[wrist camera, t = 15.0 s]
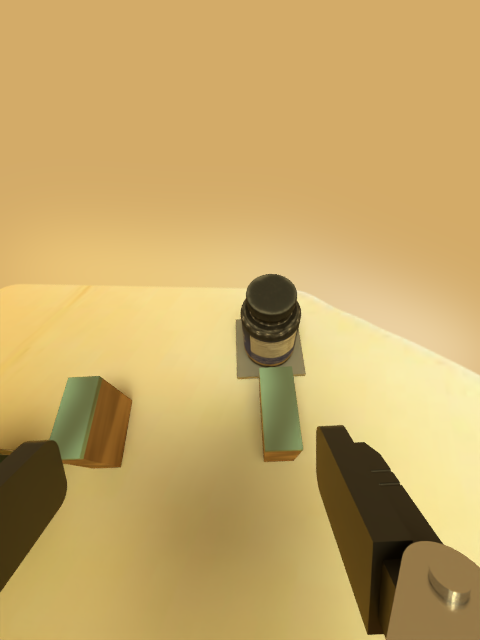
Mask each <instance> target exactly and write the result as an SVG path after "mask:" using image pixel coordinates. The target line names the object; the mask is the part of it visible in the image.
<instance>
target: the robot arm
mask: <svg viewBox="0 0 480 640" xmlns="http://www.w3.org/2000/svg"><path fill="white" fill-rule="evenodd" d="M316 473H317V481H318V487H319V491H320V494H321V497H322V500H323V503H324V506H325V509H326V512H327V515H328V518H329V521H330V524H331V527H332V530H333V533H334V536H335V539H336V542H337V545H338V548H339V551H340V554H341V557H342V560H343V563H344V566H345V569H346V572H347V575H348V578H349V581H350V584H351V587H352V590H353V593H354V596H355V599H356V602H357V605H358V608H359V611H360V614H361V617H362V620H363V623H364V626H365V628H366V631H367V634H368V635H373V634H384V635H385V638H386V640H480V568H479V567H478V566H477V565H476V564H475V563H474V562H473V561H471V560H470V559H469V558H467V557H466V556H465V555H463V554H461V553H460V552H458V551H456V550H454V549H453V548H451V547H448V546H446V545H444V544H443V543H442V542H441V541H440V539H439V538H438V536H437V535H436V533H435V532H434V531H433V529H432V528H431V526H430V525H429V523H428V522H427V521H426V519H425V518H424V516H423V515H422V513H421V512H420V511H419V509H418V508H417V506H416V505H415V503H414V502H413V500H412V499H411V498H410V496H409V495H408V493H407V492H406V490H405V489H404V488H403V486H402V485H400V482H399V480H398V479H397V478H396V476H395V475H394V473H393V472H391V470H390V468H389V466H388V465H387V463H386V462H385V460H384V459H383V458H382V456H381V455H380V454H379V453H378V452H377V451H375V450H374V449H373V448H371V447H370V446H369V445H367V444H366V443H365V442H358V443H354V442H353V440H352V438H351V437H350V435H349V433H348V432H347V430H346V428H345V427H344V426H343V425H337V426H319V427H317V431H316ZM66 491H67V480H66V476H65V472H64V467H63V463H62V459H61V455H60V450H59V446H58V444H57V442H56V441H54V440H44V441H27V442H24V443H23V444H21V445H20V446H19V447H18V448H17V449H16V450H14V451H13V452H12V453H11V454H10V455H9V456H8V457H6V458H5V459H4V460H3V461H2V462H1V463H0V592H1V590H2V589H3V588H4V586H5V585H6V583H7V582H8V581H9V579H10V578H11V576H12V575H13V573H14V572H15V571H16V569H17V568H18V566H19V565H20V563H21V562H22V561H23V559H24V558H25V556H26V555H27V554H28V552H29V551H30V549H31V548H32V546H33V545H34V544H35V542H36V541H37V539H38V538H39V537H40V535H41V534H42V532H43V531H44V529H45V528H46V527H47V525H48V524H49V522H50V521H51V519H52V518H53V517H54V515H55V514H56V512H57V511H58V510H59V508H60V507H61V505H62V503H63V501H64V499H65V496H66Z"/></svg>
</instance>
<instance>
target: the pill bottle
mask: <svg viewBox="0 0 480 640" xmlns="http://www.w3.org/2000/svg"><path fill="white" fill-rule="evenodd" d="M300 318H301V309H300V306H299V303H298V301H297V291H296V288H295V286H294V284H292V282H291V281H290V280H288V279H287V278H285V277H283V276H280V275H277V274H266V275H262V276H260V277H257V278H256V279H254V280H253V281H252V282H251V283H250V285H249V286H248V288H247V292H246V299H245V301H244V302H243V305H242V308H241V321H242V330H243V339H244V348H245V351H246V353H247V355H248V357H249V359H250V360H251V361H252V362H254V363H255V364H257V365H259V366H262V367H267V368H268V367H277V366H280V365H282V364H284V363H285V362H286V361H287V360H288V359H289V358H290V357H291V354H292V353H293V350H294V346H295V341H296V337H297V332H298V328H299V323H300Z"/></svg>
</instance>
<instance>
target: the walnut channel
mask: <svg viewBox="0 0 480 640" xmlns="http://www.w3.org/2000/svg"><path fill="white" fill-rule="evenodd" d="M259 386H260V408H261V423H262V438H263V453H264V462H271V461H294V459H295V458H296V457H297V456H298V455H299V454H300V452H301V451H302V450H303V445H302V437H301V430H300V422H299V415H298V407H297V400H296V392H295V385H294V377H293V370H292V366H287V367H268V368H259ZM131 404H132V400H131V399H129V398H128V397H127V396H125V395H124V394H123V393H121V392H120V391H119V390H117V389H116V388H115V387H113V386H112V385H111V384H109V383H108V382H107V381H105V380H104V379H103V378H101V377H100V376H92V377H72V378H68V381H67V384H66V387H65V390H64V394H63V397H62V400H61V404H60V407H59V410H58V414H57V417H56V420H55V423H54V427H53V430H52V433H51V437H50V440H54V441H56V442H57V444H58V446H59V450H60V455H61V459H62V463H65V464H70V465H76V466H82V467H88V468H115V467H121V462H122V457H123V451H124V445H125V439H126V433H127V427H128V422H129V416H130V410H131Z"/></svg>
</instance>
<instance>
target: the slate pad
mask: <svg viewBox="0 0 480 640" xmlns="http://www.w3.org/2000/svg"><path fill="white" fill-rule="evenodd" d="M236 345H237V378H238V379H249V378H259V368H267V367H262V366H259V365H257V364H255V363H254V362H252V361H251V360H250V359H249V357H248V355H247V353H246V351H245V348H244V339H243V330H242V321H241V319H240V320H236ZM287 366H292V370H293V376H305V374H306V373H305V367H304V361H303V354H302V348H301V342H300V335H299V329H298V332H297V337H296V341H295V346H294V350H293V353H292V354H291V357H290V358H289V359H288V360H287V361H286V362H285V363H284V364H282V365H280V366H277V367H287Z"/></svg>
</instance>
